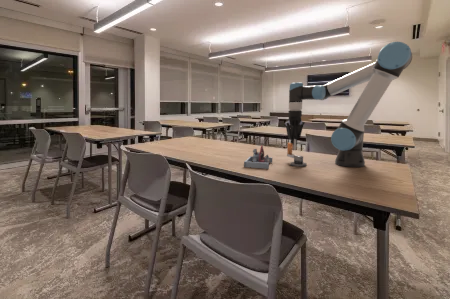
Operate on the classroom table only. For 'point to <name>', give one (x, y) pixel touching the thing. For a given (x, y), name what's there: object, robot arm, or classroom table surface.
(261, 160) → the grey red spired block
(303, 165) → the crank base
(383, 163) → the classroom table surface
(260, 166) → the tray
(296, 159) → the crank
